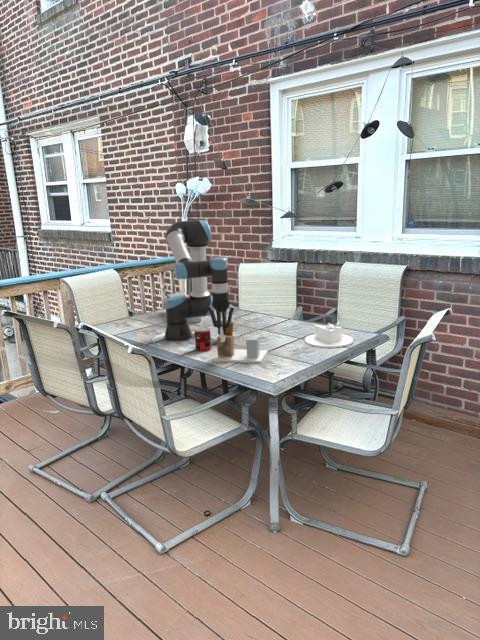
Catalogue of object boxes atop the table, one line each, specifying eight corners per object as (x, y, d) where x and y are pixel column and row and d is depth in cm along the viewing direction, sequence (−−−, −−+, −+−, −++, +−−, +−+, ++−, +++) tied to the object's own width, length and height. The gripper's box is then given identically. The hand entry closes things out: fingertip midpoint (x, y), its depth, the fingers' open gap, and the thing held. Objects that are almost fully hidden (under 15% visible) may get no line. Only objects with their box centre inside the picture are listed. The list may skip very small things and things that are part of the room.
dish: (362, 340, 243) (362, 319, 240) (334, 351, 226) (334, 329, 224) (323, 332, 260) (323, 313, 258) (295, 343, 244) (295, 322, 241)
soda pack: (167, 313, 326) (165, 293, 323) (185, 310, 331) (183, 291, 328) (182, 325, 290) (180, 304, 286) (202, 322, 294) (200, 301, 291)
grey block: (247, 358, 219) (246, 339, 217) (249, 354, 224) (248, 336, 221) (257, 358, 218) (256, 340, 215) (259, 355, 222) (258, 337, 220)
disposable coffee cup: (237, 337, 256) (236, 316, 254) (231, 342, 248) (230, 321, 245) (221, 337, 260) (220, 316, 257) (215, 341, 251) (213, 320, 248)
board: (211, 360, 220) (211, 358, 220) (221, 350, 235) (221, 348, 235) (261, 363, 214) (260, 361, 214) (267, 352, 229) (267, 350, 229)
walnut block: (217, 357, 221) (216, 337, 219) (220, 355, 225) (219, 335, 223) (231, 358, 219) (231, 337, 217) (234, 355, 223) (233, 335, 221)
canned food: (195, 347, 242) (194, 327, 239) (211, 346, 243) (209, 326, 240) (195, 352, 235) (194, 331, 232) (211, 351, 235) (210, 330, 233)
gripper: (204, 293, 209) (207, 343, 215) (231, 293, 206) (234, 344, 212) (209, 290, 216) (212, 338, 222) (236, 290, 213) (238, 339, 219)
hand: (222, 341), depth 217 cm, fingers closed
